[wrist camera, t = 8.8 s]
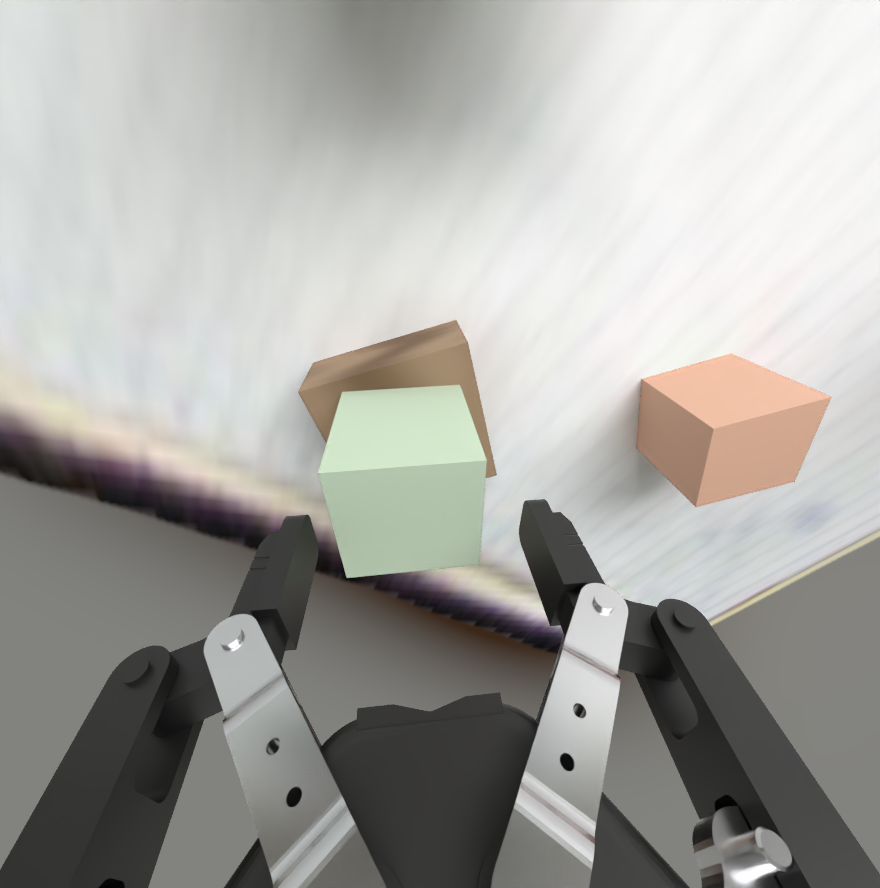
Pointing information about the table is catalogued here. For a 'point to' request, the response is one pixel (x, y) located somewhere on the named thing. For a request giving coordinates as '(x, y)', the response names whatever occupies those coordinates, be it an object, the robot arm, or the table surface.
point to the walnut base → (398, 375)
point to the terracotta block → (727, 427)
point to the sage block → (404, 480)
